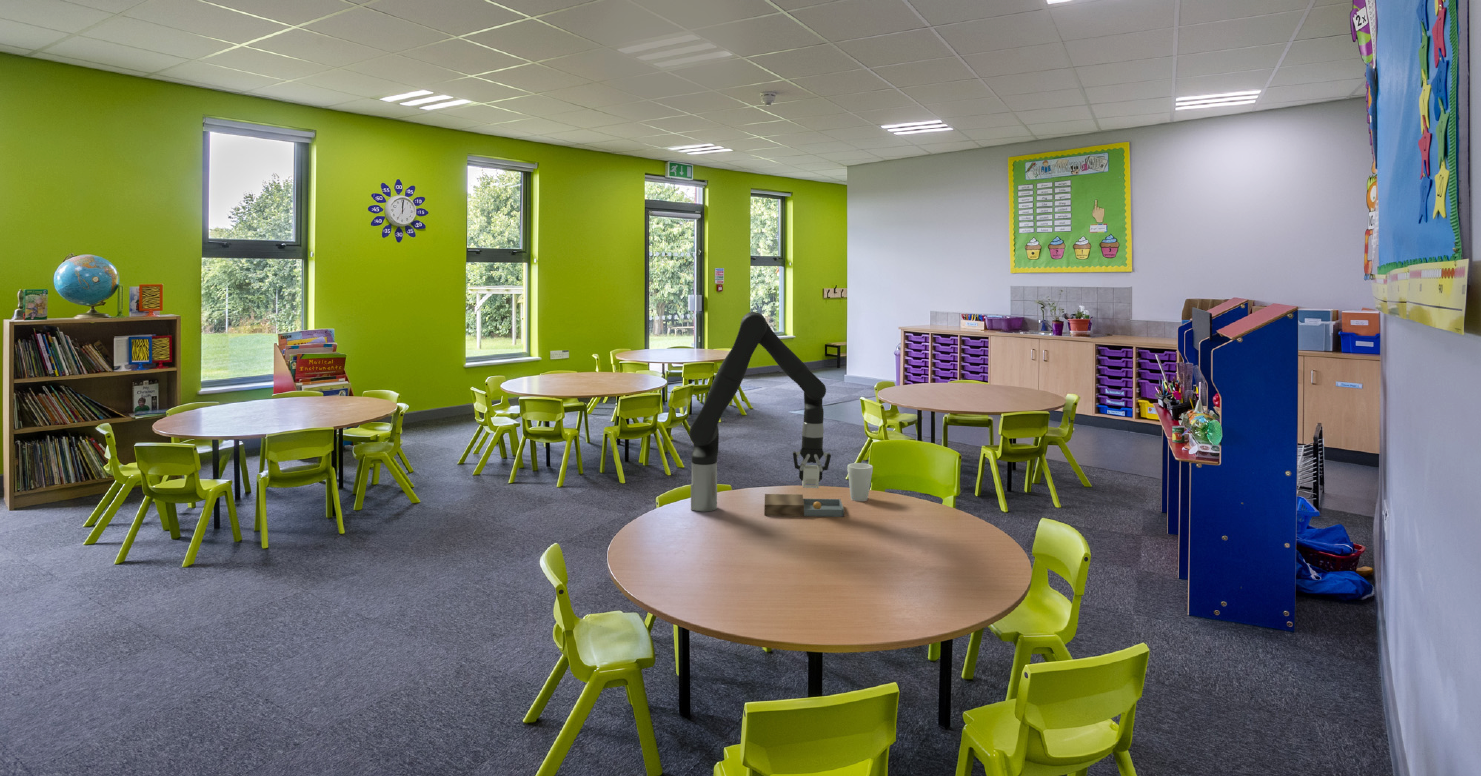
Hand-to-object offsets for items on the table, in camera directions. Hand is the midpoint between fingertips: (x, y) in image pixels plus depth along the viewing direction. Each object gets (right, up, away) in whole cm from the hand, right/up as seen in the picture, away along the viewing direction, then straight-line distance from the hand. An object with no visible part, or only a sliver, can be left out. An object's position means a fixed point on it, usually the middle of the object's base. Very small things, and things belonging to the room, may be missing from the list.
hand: (810, 480), depth 280 cm
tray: (+4, -11, +1) cm, 12 cm away
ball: (+2, -9, +1) cm, 10 cm away
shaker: (0, -2, 0) cm, 2 cm away
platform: (-10, -11, +2) cm, 15 cm away
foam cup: (+20, -9, +17) cm, 28 cm away
